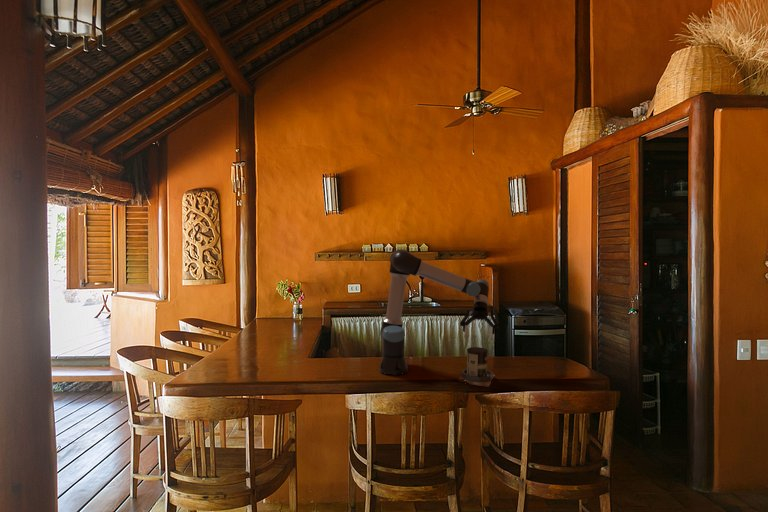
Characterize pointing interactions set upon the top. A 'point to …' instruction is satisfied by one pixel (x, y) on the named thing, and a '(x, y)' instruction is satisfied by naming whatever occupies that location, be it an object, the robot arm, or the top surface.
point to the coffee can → (477, 361)
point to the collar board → (478, 378)
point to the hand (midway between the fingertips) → (478, 337)
